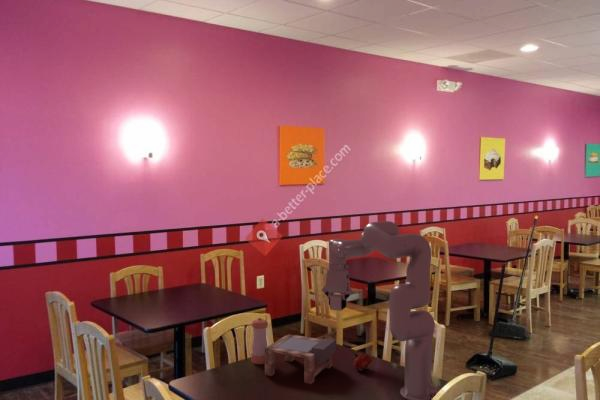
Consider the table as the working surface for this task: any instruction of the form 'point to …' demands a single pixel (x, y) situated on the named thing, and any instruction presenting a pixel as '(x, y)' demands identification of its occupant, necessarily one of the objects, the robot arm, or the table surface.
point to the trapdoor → (311, 347)
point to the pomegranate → (362, 361)
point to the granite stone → (336, 302)
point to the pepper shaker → (259, 341)
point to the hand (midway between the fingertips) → (337, 307)
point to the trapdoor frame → (309, 367)
